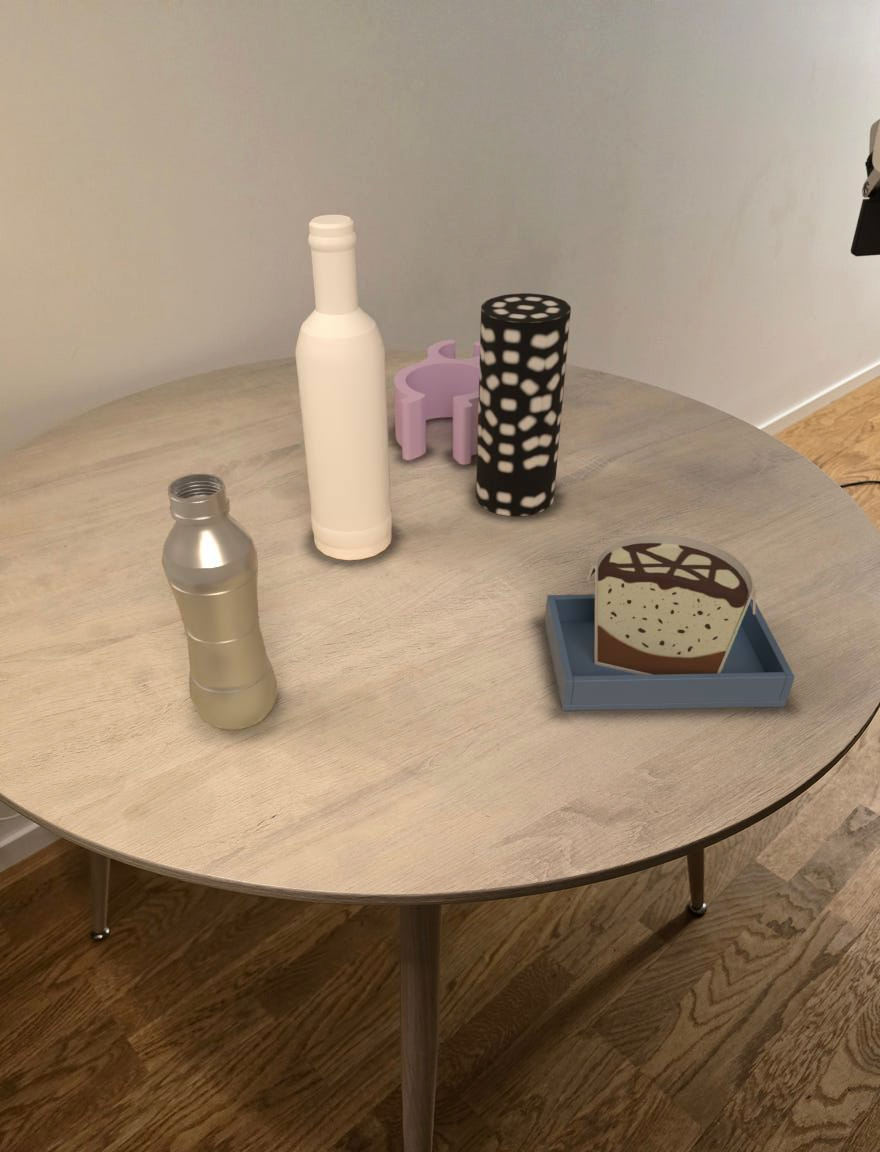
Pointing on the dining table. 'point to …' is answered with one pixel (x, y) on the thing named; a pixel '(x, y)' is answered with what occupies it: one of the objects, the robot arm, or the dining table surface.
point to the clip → (438, 400)
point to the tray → (743, 682)
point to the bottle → (343, 403)
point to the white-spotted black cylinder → (520, 401)
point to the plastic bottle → (218, 604)
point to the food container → (668, 604)
